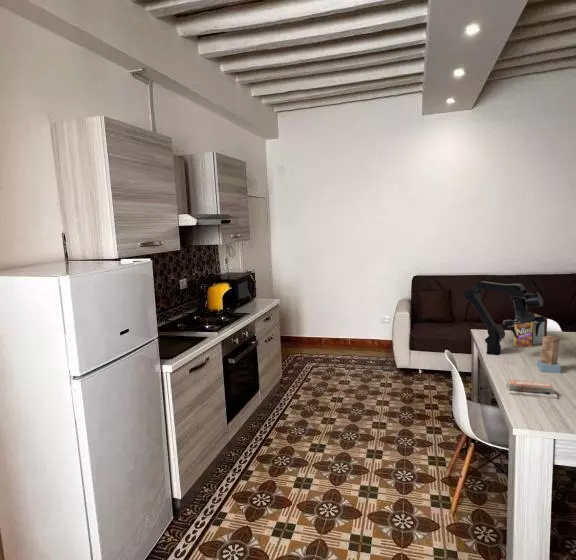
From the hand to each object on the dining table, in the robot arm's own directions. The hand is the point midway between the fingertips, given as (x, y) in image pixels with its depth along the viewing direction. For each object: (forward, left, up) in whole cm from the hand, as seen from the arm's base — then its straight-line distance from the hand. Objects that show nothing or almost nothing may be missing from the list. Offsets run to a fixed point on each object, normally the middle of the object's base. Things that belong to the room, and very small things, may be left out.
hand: (526, 337), depth 218 cm
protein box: (+2, +40, -12) cm, 42 cm away
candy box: (-2, +26, -12) cm, 29 cm away
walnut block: (+10, -12, -8) cm, 17 cm away
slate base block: (+10, -12, -12) cm, 20 cm away
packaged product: (+2, -46, -13) cm, 47 cm away
